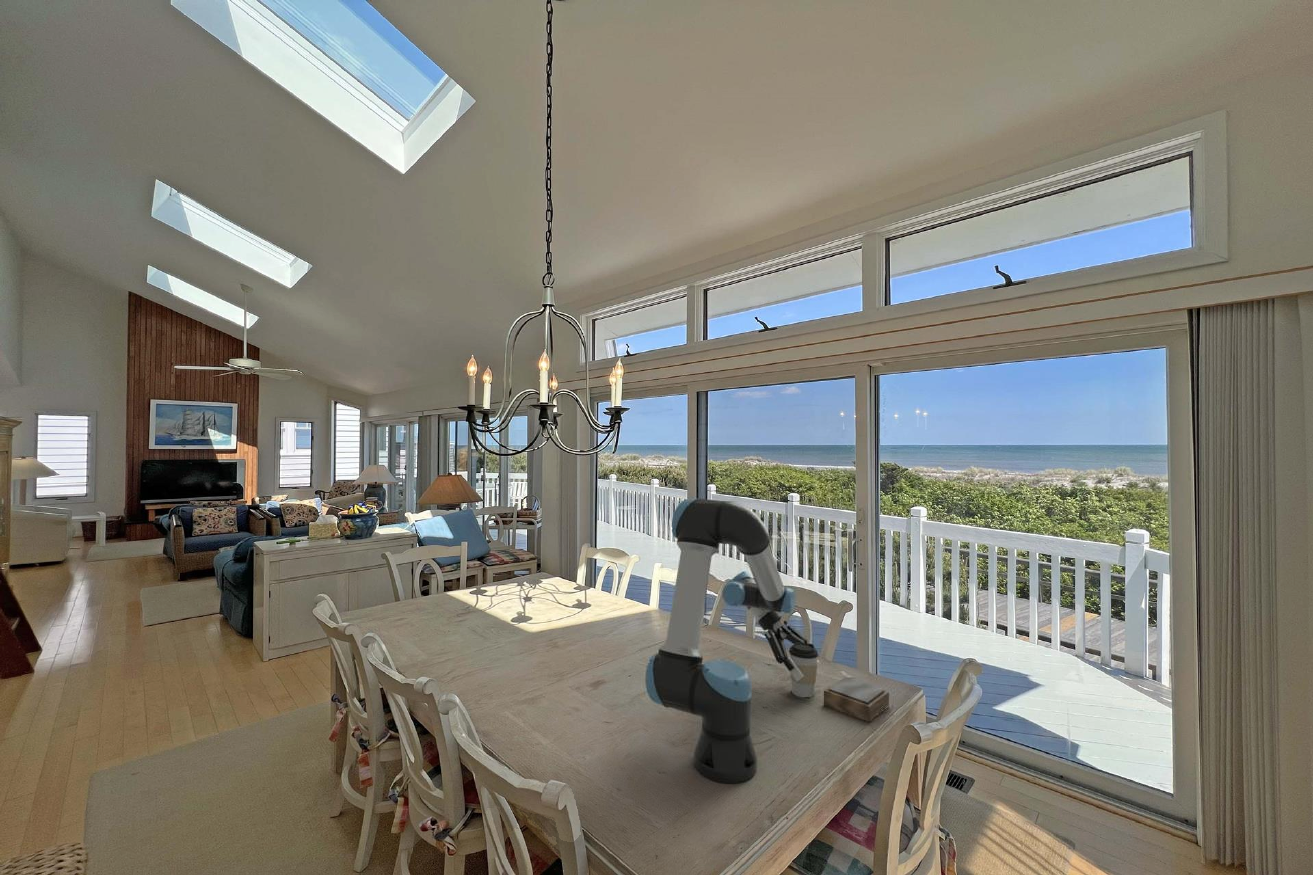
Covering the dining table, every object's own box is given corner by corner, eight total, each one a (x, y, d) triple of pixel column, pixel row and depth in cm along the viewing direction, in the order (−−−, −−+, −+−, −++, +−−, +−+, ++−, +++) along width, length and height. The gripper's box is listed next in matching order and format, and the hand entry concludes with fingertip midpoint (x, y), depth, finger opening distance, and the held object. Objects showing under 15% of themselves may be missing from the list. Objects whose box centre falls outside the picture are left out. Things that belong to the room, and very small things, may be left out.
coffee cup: (797, 700, 164) (798, 651, 164) (782, 687, 173) (783, 641, 173) (823, 697, 166) (824, 649, 167) (807, 685, 175) (808, 639, 175)
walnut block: (888, 706, 162) (889, 689, 162) (869, 722, 152) (869, 704, 152) (844, 690, 171) (844, 675, 172) (823, 704, 162) (823, 688, 162)
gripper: (773, 612, 190) (814, 665, 180) (741, 630, 170) (784, 691, 160) (788, 599, 187) (830, 653, 177) (756, 616, 167) (802, 678, 157)
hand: (808, 671), depth 169 cm, fingers open, 13 cm apart
